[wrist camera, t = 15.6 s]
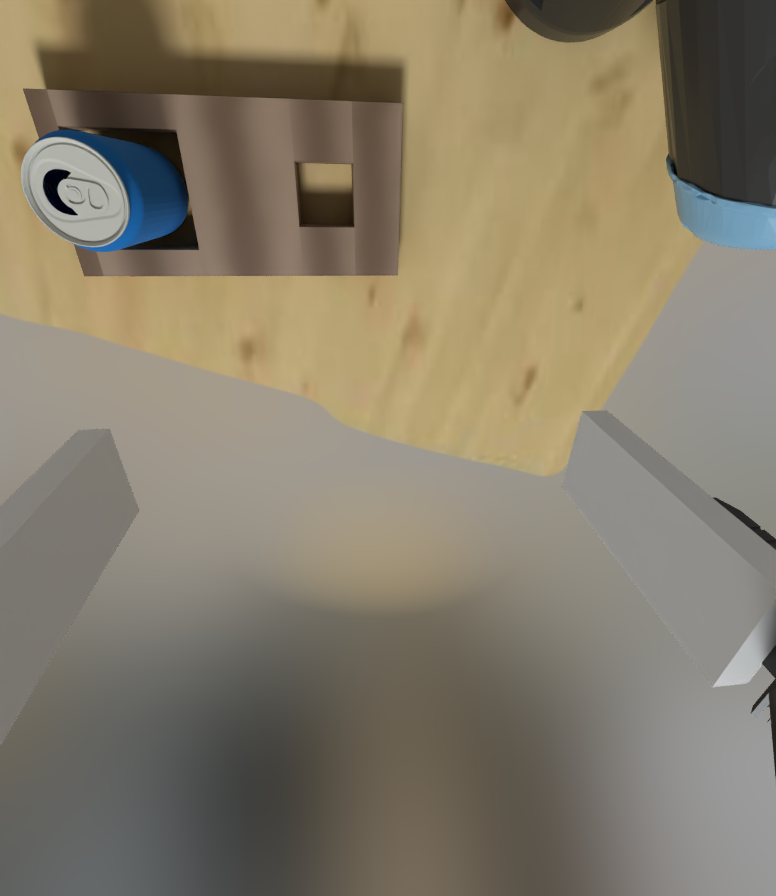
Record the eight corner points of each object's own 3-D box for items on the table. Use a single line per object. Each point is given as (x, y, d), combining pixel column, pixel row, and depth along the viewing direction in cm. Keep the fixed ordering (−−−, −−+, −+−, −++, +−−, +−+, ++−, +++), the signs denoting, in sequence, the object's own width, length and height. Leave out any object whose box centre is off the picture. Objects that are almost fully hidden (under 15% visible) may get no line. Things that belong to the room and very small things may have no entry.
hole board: (397, 109, 35) (402, 103, 32) (393, 269, 41) (397, 275, 38) (47, 96, 32) (22, 88, 29) (101, 270, 38) (84, 276, 36)
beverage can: (99, 135, 33) (-2, 114, 23) (188, 153, 35) (129, 141, 24) (111, 228, 37) (26, 244, 26) (192, 242, 38) (141, 263, 28)
